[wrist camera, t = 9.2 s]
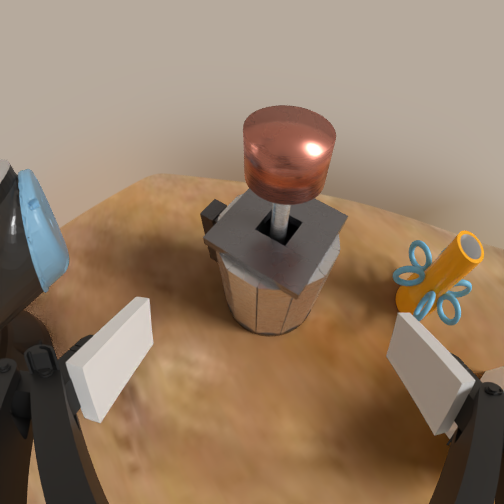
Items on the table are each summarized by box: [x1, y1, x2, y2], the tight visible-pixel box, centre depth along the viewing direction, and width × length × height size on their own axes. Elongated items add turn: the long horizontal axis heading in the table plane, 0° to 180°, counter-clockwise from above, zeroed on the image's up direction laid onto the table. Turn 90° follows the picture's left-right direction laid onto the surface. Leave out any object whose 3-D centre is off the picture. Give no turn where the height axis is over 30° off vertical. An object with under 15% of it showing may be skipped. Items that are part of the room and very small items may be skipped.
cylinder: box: [393, 231, 484, 325], centre depth 30 cm, size 12×10×15 cm
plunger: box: [243, 105, 336, 245], centre depth 26 cm, size 6×6×22 cm
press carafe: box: [200, 188, 348, 336], centre depth 32 cm, size 14×11×15 cm
